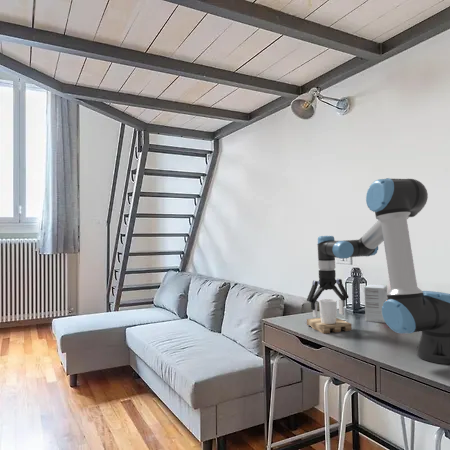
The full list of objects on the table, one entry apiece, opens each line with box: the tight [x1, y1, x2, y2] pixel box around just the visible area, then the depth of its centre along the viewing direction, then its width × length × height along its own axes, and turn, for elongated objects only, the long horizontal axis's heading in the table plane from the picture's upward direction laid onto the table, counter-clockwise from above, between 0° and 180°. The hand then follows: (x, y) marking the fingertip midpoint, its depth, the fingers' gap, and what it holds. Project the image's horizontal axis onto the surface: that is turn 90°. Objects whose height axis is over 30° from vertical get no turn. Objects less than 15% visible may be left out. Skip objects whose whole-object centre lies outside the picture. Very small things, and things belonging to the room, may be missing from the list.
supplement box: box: [363, 283, 388, 324], centre depth 202 cm, size 10×9×17 cm
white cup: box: [318, 298, 338, 324], centre depth 188 cm, size 8×8×10 cm
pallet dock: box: [306, 317, 353, 335], centre depth 190 cm, size 16×14×3 cm
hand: (328, 315), depth 188 cm, fingers open, 13 cm apart
